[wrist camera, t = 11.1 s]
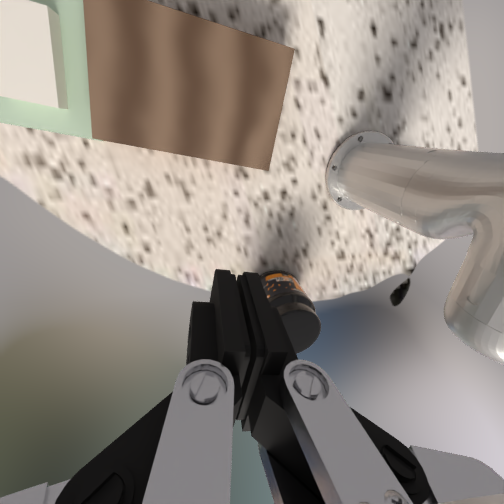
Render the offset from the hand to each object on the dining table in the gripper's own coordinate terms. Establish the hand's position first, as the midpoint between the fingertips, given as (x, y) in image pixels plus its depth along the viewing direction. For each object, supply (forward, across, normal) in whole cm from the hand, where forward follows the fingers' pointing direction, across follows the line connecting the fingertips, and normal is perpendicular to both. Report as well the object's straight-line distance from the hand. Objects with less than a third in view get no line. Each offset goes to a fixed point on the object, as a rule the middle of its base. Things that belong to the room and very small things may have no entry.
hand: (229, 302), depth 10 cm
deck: (+31, +3, -9) cm, 33 cm away
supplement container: (+32, -16, +20) cm, 41 cm away
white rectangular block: (+29, +21, -9) cm, 37 cm away
